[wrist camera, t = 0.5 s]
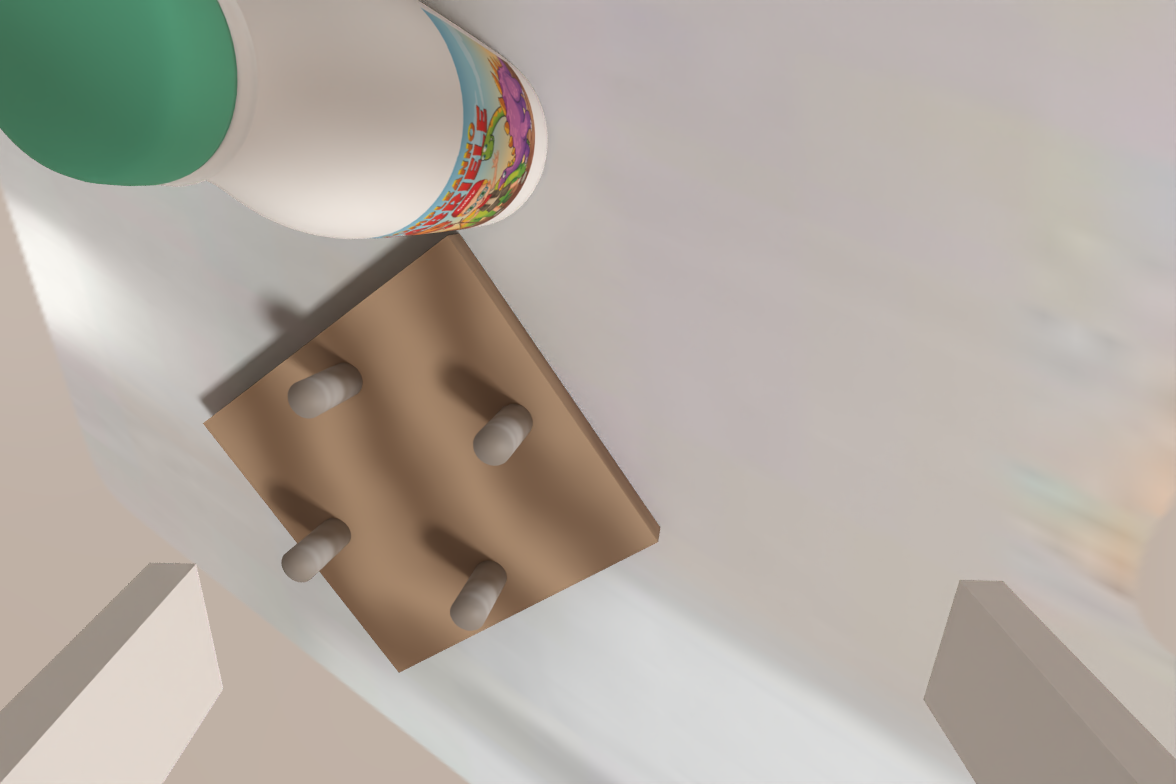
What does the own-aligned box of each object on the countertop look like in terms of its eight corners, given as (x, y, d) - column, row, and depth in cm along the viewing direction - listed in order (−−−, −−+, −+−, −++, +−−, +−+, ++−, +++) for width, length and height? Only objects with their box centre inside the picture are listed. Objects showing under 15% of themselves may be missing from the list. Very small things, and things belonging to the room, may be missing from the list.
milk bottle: (369, 177, 31) (-154, 146, 12) (430, 16, 29) (-116, -339, 10) (507, 256, 31) (190, 346, 12) (580, 101, 28) (323, -91, 10)
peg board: (459, 233, 31) (414, 239, 26) (660, 527, 34) (651, 581, 29) (222, 414, 37) (150, 446, 32) (410, 655, 39) (369, 718, 34)
